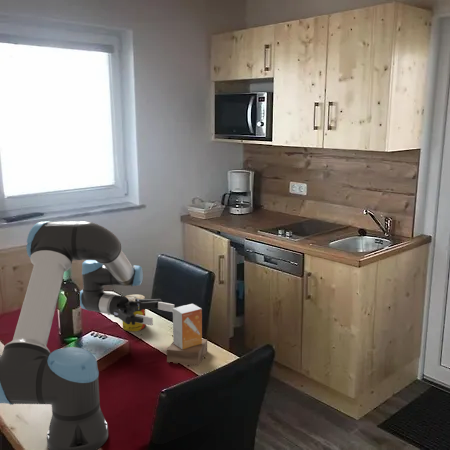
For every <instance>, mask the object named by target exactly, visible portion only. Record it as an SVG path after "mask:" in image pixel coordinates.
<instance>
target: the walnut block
mask: <svg viewBox="0 0 450 450" xmlns="http://www.w3.org/2000/svg"><path fill="white" fill-rule="evenodd" d="M207 353H208V339H206V338H202V344H200V345H196V346H192V347H189V348H186V349H183V350H182V349H181V348H179V347H178V346H176V345H175V344H174V343H173V342H172V343H171V344H170V345H169V346H168V347H167V349H166V363H170V362H173V364H178V363H180V365H187V366H197V367H198V366H199V365H201V362H202V361H203V359H204V358H205V356H206V354H207Z"/></svg>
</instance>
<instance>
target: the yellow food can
mask: <svg viewBox="0 0 450 450" xmlns="http://www.w3.org/2000/svg"><path fill="white" fill-rule="evenodd" d="M124 296H125V297H127V299H128V300H129V301H135V299H136V298H137V299H146V298H145V297H146V296H145V295H143V294H138V293H133V294H126V295H124ZM138 309H139V306H138ZM136 314H139V315H144V316H146V309H142V310H141V311H136V312H134V315H135V316H136ZM146 326H147V325H146V324H142V323H137V322H135V325H132V322H130V324H126V323H125V322H123V321H122V329H123V330H124V331H127V332H139V331H142V330H144V329H146Z"/></svg>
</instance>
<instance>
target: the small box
mask: <svg viewBox="0 0 450 450" xmlns="http://www.w3.org/2000/svg"><path fill="white" fill-rule="evenodd" d="M172 328H173V329H172V334H173V335H172V336H173V339H172V340H173V341H172V343H174V344H175V345H176V346H178V347H179V348H181V349H182V350H183V349H186V348H189V347H192V346H196V345H200V344H202V339H203V309H202V307H199V306H198V305H197V304H194V303H189V304H184V305H180V306H176V307H174V308H173V312H172Z"/></svg>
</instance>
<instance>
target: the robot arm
mask: <svg viewBox="0 0 450 450" xmlns="http://www.w3.org/2000/svg"><path fill="white" fill-rule="evenodd" d="M26 243H27V244H26V253H27V256H28V257H29V260H30V262H31V264H32V265H33V266H32V269H31V270H32V271H31V274H30V277H29V282H28V285H27V288H26V293H25V296H24V299H23V301H22V306H21V309H20V314H19V317H18V321H17V324H16V327H15V330H14V335H13V338H12V340H11V341H9V342H7V343H6V344H5V345H4V346H3V350H2V353H1V354H0V404H5V405H6V404H8V405H10V406H11V405H51V412H52V415H51V419H50V423H49V427H48V430H47V433H46V445H47V448H48V450H98V449H100V448H101V447H102V446H103V445H104V444H105V443H106V442H107V440H108V439H109V426H108V422H107V421H106V418H105V416H104V414H103V411H102V409H101V404H100V401H101V400H100V383H99V375H100V371H99V369H98V361H97V358H96V356H95V355H94V354H93V353H92V352H91V351H89V350H87V349H85V348H81V347H78V346H77V347H76V346H75V347H73V346H68V347H64V348H58V349H55V350H53V351H51V350H50V349H49V348H48V346H47V345H48V341H49V338H50V337H49V336H50V332H51V328H52V324H53V320H54V315H55V311H56V307H57V303H58V298H59V294H60V290H61V287H62V283H63V278H64V274H65V272H67V271H69V270H70V269H71V267H72V264H73V261H83V262H82V263H81V264H82V265H81V277H82V289H81V290H80V291H79V292H80V306H81V309H83V310H86V311H88V312H89V311H90V312H94V313H95V312H96V313H101V314H107V316H114V318H118V319H119V320H120V321H122V323H123V322H125V323H126V324H130V322H132V325H135V322H137V323H142V324H146V326H153V325H154V319H153V318H154V317H152V316H148V315H145V316H144V315H139V314H136V316H135V315H134V312H136V311H141V310H142V309H145V310H152V309H158V310H161V311H165V312H170V313H173V308H175V304H173V303H169V302H163V301H162V299H161V298H145V299H137V298H136V299H135V301H129V300H128V299H127V297H125V296H126V295H120V294H115V293H109V292H105V291H104V290H105V287H107V286H108V287H111V286H112V287H113V286H114V287H115V286H116V287H117V286H118V287H135V286H136V287H137V286H138V287H139V286H141V285H142V283H143V279H144V272H143V267H142V266H140V265H136V264H133V265H132V264H131V262H130V261H129V259H128V257H127V255H126V254H125V253H124V252H123V250H122V243H121V241H120V240H119V238H118V236H116V235H115V234H114V232H112V231H111V230H109V229H107V228H106V227H104V226H102V225H100V224H98V223H96V222H95V223H94V222H93V221H84V220H83V221H54V220H48V221H40V222H39V221H38V222H37V223H35V224H34V225H33V226H32V227H31V228H30V231H29V232H28V234H27V238H26ZM138 306H139V309H138Z"/></svg>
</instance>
